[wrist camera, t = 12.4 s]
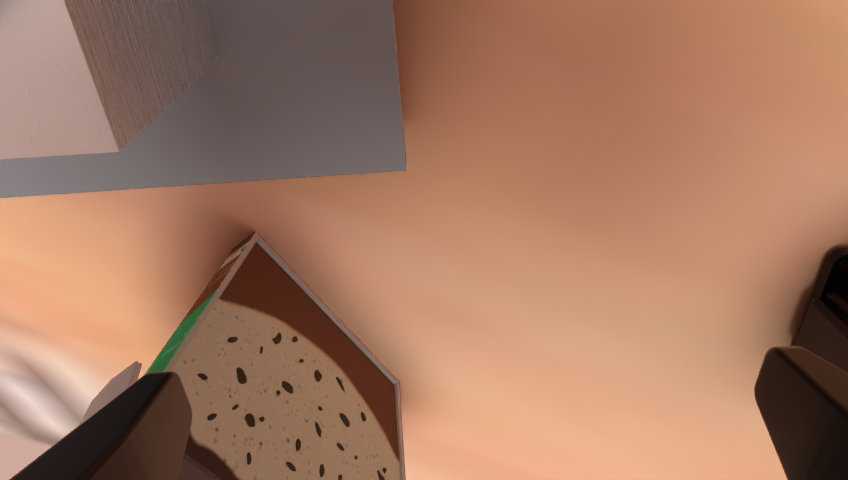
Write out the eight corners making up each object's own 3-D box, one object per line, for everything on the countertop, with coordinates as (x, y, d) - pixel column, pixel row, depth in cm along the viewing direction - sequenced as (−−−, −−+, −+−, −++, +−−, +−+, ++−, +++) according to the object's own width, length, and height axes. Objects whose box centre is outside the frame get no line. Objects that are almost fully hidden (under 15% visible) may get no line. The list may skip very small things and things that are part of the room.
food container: (107, 280, 22) (-86, 533, 13) (227, 201, 20) (95, 432, 12) (311, 452, 27) (269, 707, 19) (418, 401, 26) (424, 655, 17)
